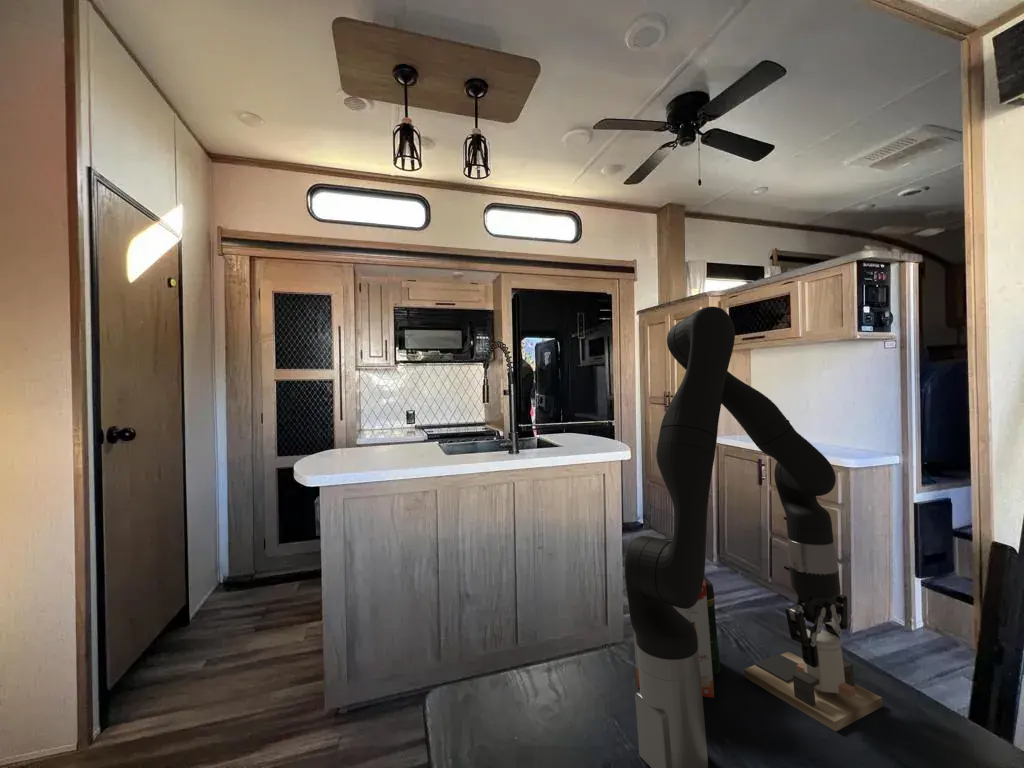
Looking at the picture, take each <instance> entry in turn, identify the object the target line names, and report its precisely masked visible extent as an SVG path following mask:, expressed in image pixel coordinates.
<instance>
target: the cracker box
mask: <svg viewBox="0 0 1024 768" xmlns="http://www.w3.org/2000/svg"><path fill="white" fill-rule="evenodd" d="M673 607H674V608H675V609H676V610H677V611H678V612H679V613H680V614H681V615H683V616H684V617H685V618H686V619H688V620H689V621H690V622H691V623H692V624H693V626H694V627H695V629H696V632H697V638H698V650H699V662H700V674H701V686H702V697H705V698H706V697H707V698H711V699H714V698H715V690H714V689H715V687H714V686H715V685H714V675H713V672H712V659H711V646H710V633H709V619H708V607H707V593H706V584H705V581H704V582H703V587H702V591H701V594H700V597H699V599H698V601H697V602H696V604H695V605H694V606H693V607H691V608H689V609H683V608H678V607H675V606H673ZM633 643H634V654H635V655H634V656H635V658H634V659H635V668H636V669H635V671H636V672H635V673H636V683H637V684H636V686H637V687H638V688H640V684H639V670H638V655H637V642H636V634H635V632H634V631H633Z"/></svg>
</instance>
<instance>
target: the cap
mask: <svg viewBox="0 0 1024 768" xmlns="http://www.w3.org/2000/svg"><path fill="white" fill-rule="evenodd" d="M807 635H808V637H810V630H808V629H807ZM816 646H817V655H818V667H815V668H814V667H812V666H810V665H808V664H806V663H805V662H804V660H803V662H804V664H803V663H800V664H798V665H796V668H797V672H800V671H804V672H806V673H808V674H810V675H812V676H814V677H816V678H818V679H819V681H820V684H819V685H817V686H815V688H817V689H819V690H821V691H823V692H831V693H841V694H843V695H845V696H847V697H850V698H851V697H853V696H854V695H856V693H855V687H853V686H851V685H848V684H846V683H845V676H844V667H843V660H844V659H843V650H842V646H841V638H840V639H839V638H838V637H837V636H836V635H834V634H832V633H829V632H826V630H822V629H821V633H820V634H817V639H816Z"/></svg>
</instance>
